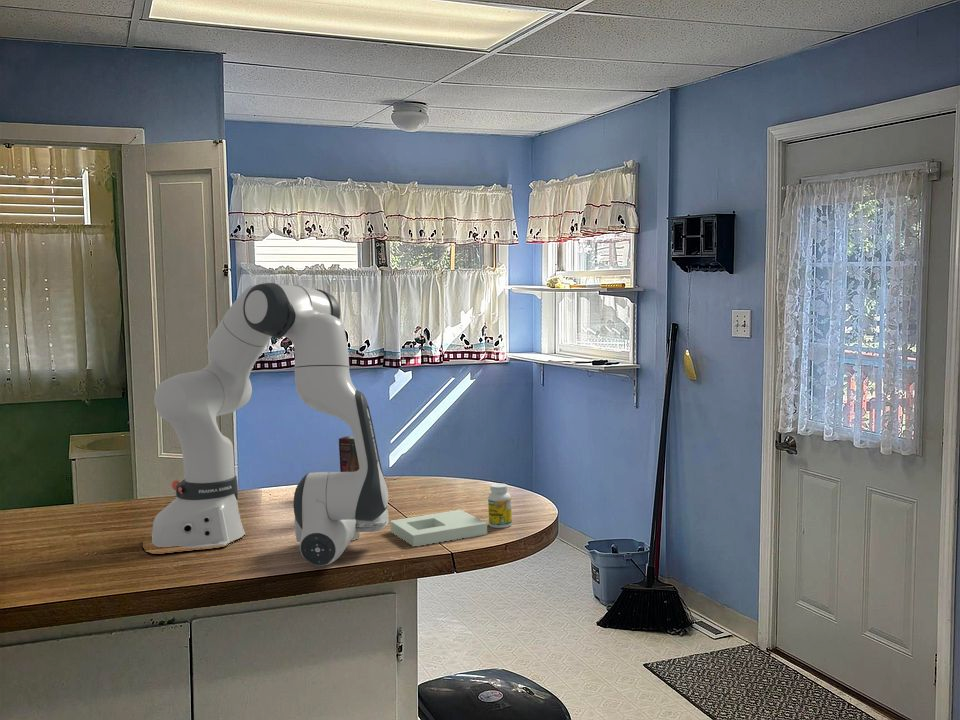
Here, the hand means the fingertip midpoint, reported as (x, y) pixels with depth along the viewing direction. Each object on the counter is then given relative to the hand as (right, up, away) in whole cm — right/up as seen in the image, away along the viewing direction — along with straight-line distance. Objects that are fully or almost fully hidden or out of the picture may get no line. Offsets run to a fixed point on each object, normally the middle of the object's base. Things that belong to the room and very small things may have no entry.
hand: (348, 509), depth 209 cm
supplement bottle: (+35, -5, +7) cm, 36 cm away
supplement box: (-3, -3, +40) cm, 40 cm away
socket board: (+20, -6, +2) cm, 21 cm away
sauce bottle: (+1, -5, +19) cm, 20 cm away
